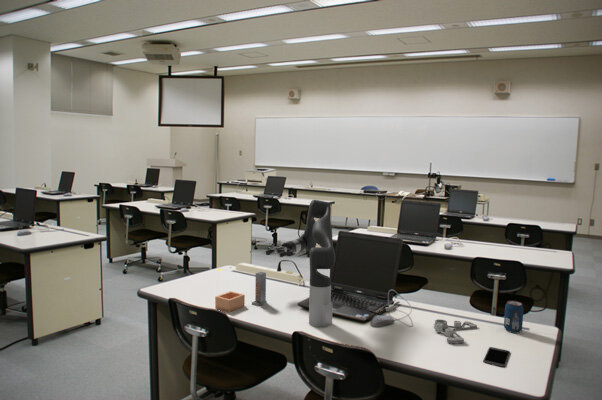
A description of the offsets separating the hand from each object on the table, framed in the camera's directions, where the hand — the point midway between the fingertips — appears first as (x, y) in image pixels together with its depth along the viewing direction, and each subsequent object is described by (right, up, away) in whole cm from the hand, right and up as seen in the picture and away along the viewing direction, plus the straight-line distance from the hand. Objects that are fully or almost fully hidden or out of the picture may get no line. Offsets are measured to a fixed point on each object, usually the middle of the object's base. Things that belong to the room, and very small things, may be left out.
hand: (273, 254), depth 217 cm
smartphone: (+85, -31, -60) cm, 109 cm away
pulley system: (+77, -28, -37) cm, 90 cm away
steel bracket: (-6, -23, -7) cm, 25 cm away
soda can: (+104, -28, -36) cm, 113 cm away
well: (-20, -24, -13) cm, 33 cm away
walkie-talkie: (+54, -25, -11) cm, 60 cm away
